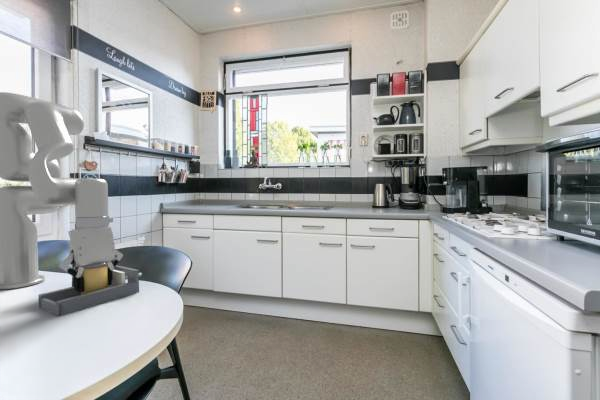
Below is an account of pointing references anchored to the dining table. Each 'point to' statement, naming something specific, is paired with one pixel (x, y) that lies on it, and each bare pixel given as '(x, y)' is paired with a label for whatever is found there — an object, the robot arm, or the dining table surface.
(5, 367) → the dining table surface
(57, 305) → the grey open rectangular box
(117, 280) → the pusher
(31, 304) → the dining table surface
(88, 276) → the honey jar
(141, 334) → the dining table surface
